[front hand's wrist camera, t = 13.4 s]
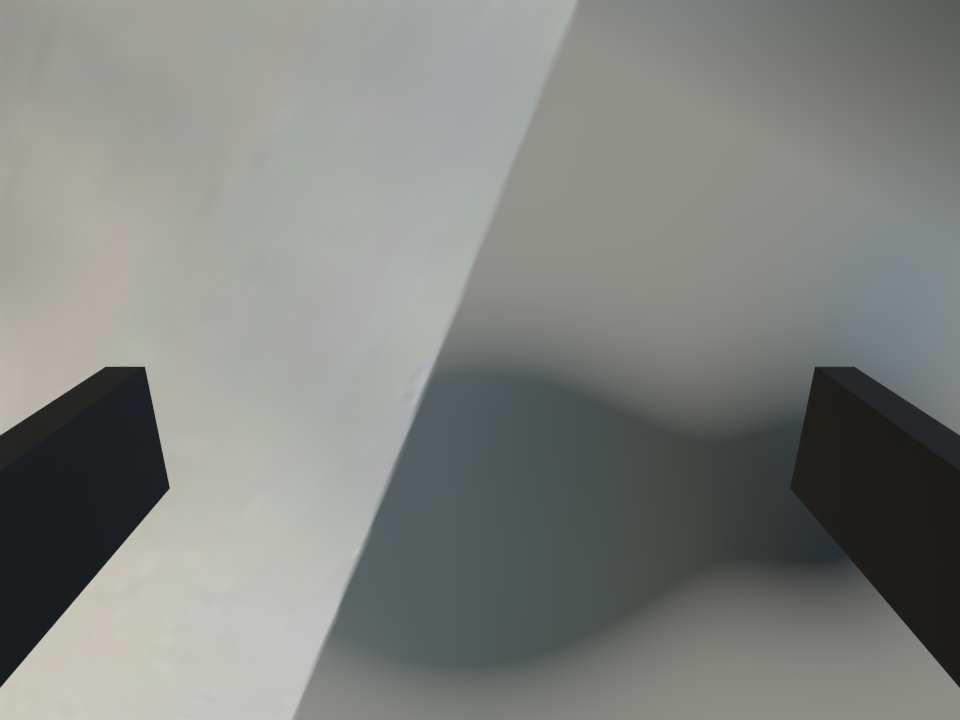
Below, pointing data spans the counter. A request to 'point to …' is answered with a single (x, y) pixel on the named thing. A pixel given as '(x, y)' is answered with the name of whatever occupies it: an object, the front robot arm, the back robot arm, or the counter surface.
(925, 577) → the front robot arm
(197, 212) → the counter surface
